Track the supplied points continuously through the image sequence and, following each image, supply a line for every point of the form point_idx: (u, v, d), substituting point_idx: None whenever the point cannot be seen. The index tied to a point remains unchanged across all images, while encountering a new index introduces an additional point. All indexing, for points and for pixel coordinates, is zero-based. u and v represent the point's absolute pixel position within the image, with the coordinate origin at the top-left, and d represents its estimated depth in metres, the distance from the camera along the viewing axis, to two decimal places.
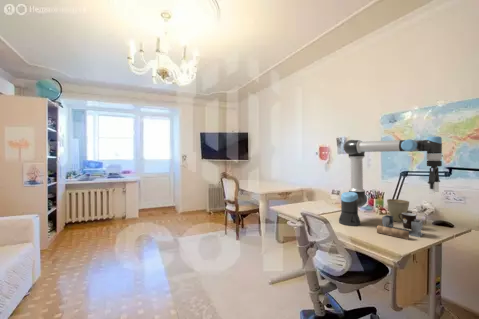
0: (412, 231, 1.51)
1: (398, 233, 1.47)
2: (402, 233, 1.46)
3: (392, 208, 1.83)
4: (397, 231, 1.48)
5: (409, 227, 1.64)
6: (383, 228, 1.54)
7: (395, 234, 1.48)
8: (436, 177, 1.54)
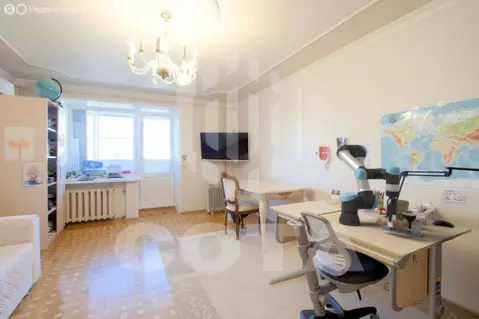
0: (412, 231, 1.51)
1: (397, 224, 1.48)
2: (402, 224, 1.46)
3: None
4: (396, 222, 1.48)
5: (409, 227, 1.64)
6: (383, 219, 1.54)
7: (395, 225, 1.49)
8: (393, 209, 1.53)
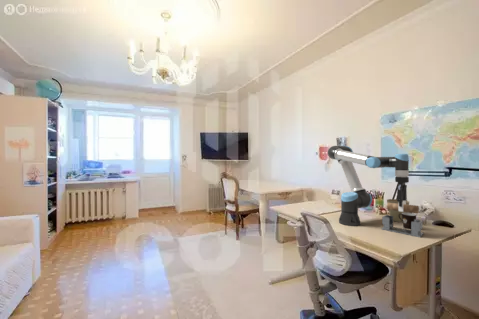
0: (412, 231, 1.51)
1: (408, 208, 1.54)
2: (412, 207, 1.52)
3: None
4: (407, 206, 1.54)
5: (409, 227, 1.64)
6: (393, 205, 1.60)
7: (405, 209, 1.55)
8: (403, 194, 1.59)
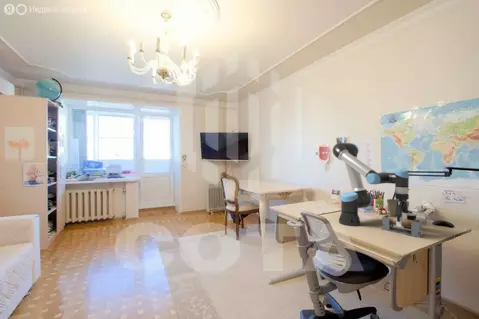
0: (412, 231, 1.51)
1: (408, 223, 1.54)
2: None
3: (392, 208, 1.83)
4: (407, 221, 1.55)
5: None
6: (393, 219, 1.61)
7: (405, 224, 1.55)
8: (404, 209, 1.61)
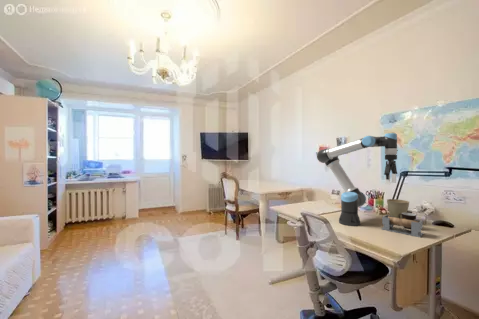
0: (412, 231, 1.51)
1: (408, 224, 1.54)
2: None
3: (392, 208, 1.83)
4: (407, 222, 1.55)
5: None
6: (393, 219, 1.61)
7: (405, 224, 1.55)
8: (393, 169, 1.74)
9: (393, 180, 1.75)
